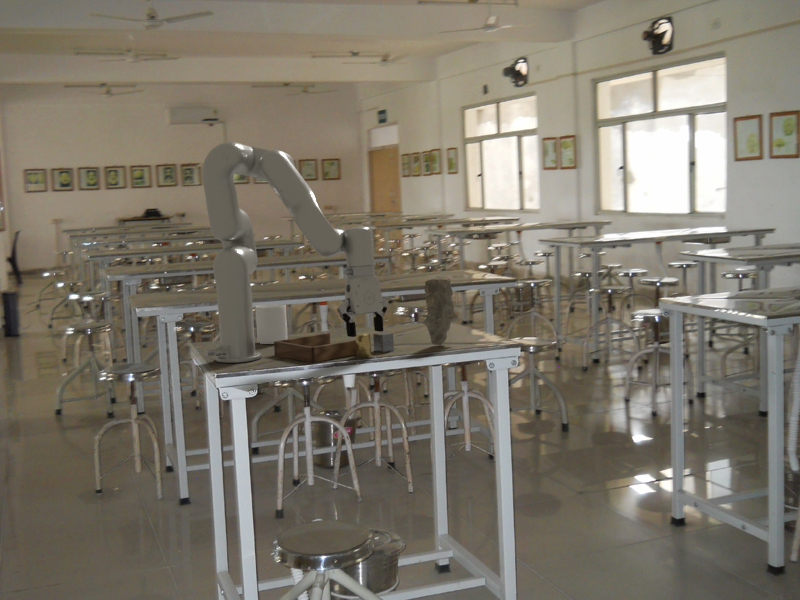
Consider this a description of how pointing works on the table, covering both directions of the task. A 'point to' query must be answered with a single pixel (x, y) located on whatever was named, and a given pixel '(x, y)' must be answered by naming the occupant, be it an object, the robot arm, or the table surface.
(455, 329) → the table surface
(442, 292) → the stone tool
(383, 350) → the steel block
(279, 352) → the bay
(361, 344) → the brass part
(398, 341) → the table surface
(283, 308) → the white box
